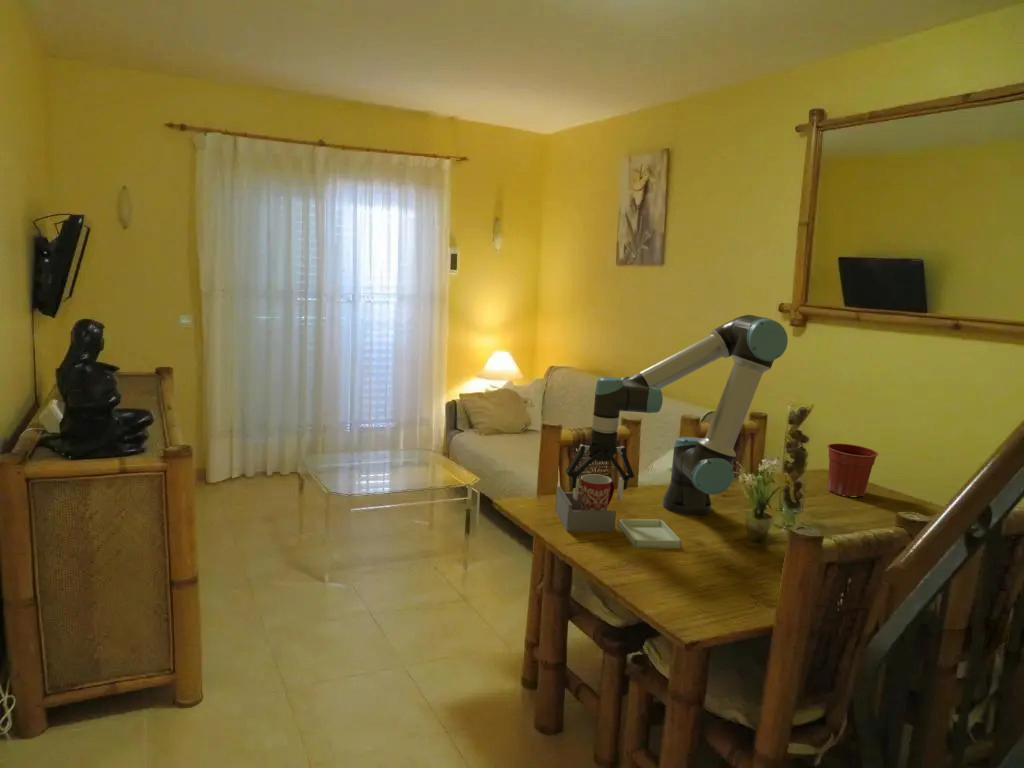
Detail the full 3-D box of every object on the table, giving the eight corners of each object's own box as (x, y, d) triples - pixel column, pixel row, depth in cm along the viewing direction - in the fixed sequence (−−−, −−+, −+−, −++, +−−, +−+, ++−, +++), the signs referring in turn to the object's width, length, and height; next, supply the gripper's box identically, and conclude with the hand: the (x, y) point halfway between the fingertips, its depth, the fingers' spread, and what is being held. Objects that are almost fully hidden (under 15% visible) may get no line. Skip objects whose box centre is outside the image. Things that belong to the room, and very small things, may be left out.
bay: (599, 511, 227) (601, 487, 225) (614, 531, 211) (616, 505, 209) (555, 510, 225) (557, 486, 223) (567, 531, 209) (569, 505, 207)
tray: (660, 526, 217) (661, 519, 216) (680, 548, 201) (681, 540, 201) (617, 526, 215) (618, 519, 214) (634, 548, 199) (635, 540, 199)
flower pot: (882, 499, 256) (889, 455, 253) (842, 501, 252) (849, 456, 249) (849, 484, 272) (855, 443, 269) (811, 486, 267) (817, 443, 265)
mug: (593, 529, 211) (597, 485, 208) (571, 520, 218) (574, 476, 215) (622, 521, 219) (626, 478, 217) (600, 512, 226) (603, 470, 223)
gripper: (641, 428, 219) (633, 496, 223) (560, 425, 215) (553, 493, 219) (649, 434, 212) (641, 504, 215) (565, 431, 208) (559, 502, 211)
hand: (597, 499), depth 217 cm, fingers open, 13 cm apart
